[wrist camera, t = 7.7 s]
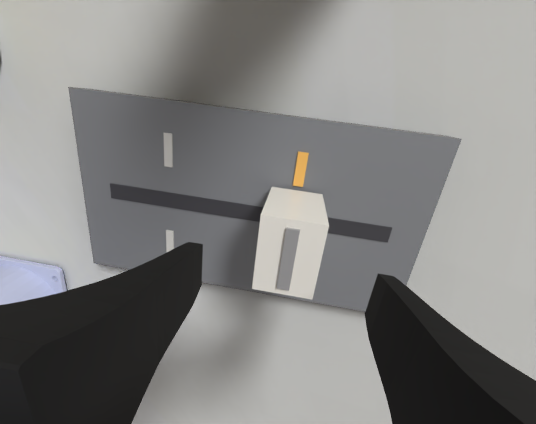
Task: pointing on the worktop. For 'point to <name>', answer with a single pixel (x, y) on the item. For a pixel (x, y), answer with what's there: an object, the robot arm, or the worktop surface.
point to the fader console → (253, 187)
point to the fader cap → (290, 243)
